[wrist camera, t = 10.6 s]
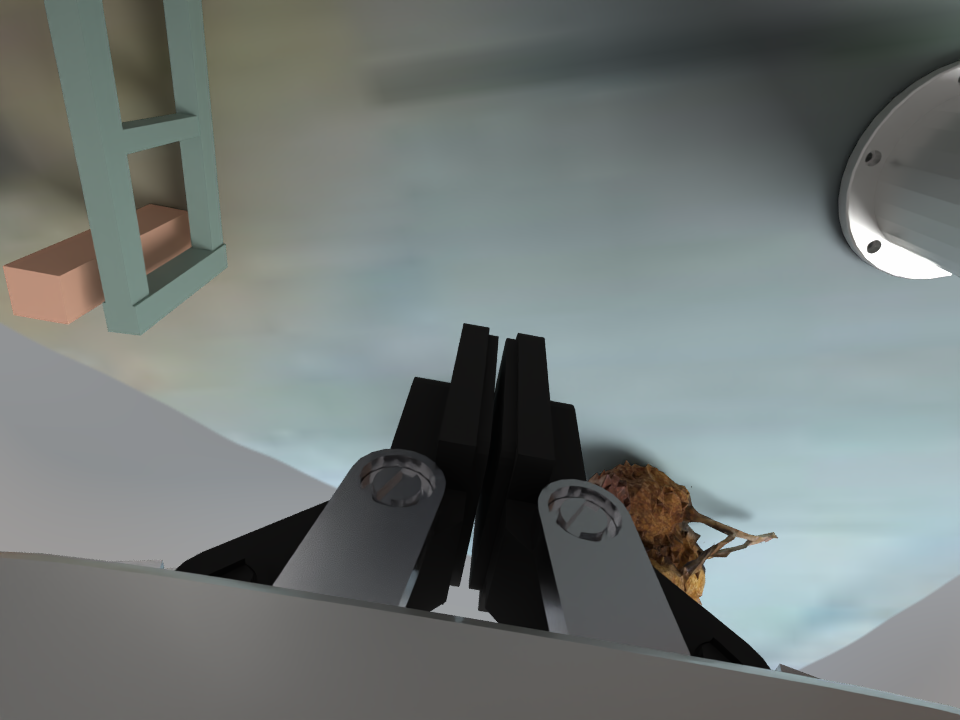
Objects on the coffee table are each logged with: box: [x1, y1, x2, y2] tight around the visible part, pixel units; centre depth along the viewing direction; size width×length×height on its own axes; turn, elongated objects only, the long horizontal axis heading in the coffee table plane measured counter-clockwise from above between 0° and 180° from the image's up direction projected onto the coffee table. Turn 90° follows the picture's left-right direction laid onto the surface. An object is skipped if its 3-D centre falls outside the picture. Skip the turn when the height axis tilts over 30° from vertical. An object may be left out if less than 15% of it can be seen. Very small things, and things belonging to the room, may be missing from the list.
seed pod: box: [588, 460, 778, 605], centre depth 42 cm, size 14×18×16 cm
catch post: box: [3, 204, 191, 324], centre depth 30 cm, size 2×2×12 cm
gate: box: [44, 0, 228, 335], centre depth 27 cm, size 18×2×11 cm, turn 172°
